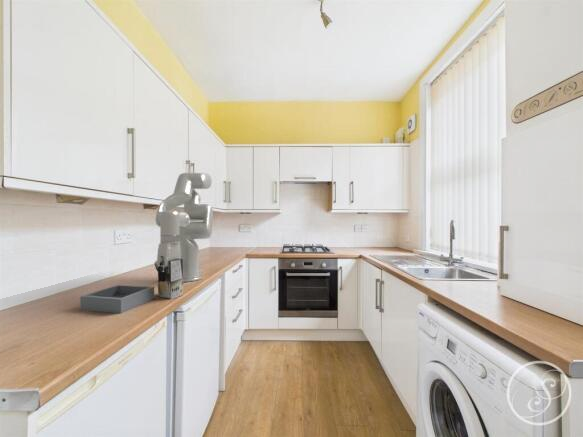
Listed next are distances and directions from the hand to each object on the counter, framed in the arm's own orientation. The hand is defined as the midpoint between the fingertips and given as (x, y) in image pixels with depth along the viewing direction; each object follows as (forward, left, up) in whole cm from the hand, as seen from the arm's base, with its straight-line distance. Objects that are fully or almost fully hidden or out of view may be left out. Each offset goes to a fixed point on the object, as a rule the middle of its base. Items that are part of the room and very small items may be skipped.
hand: (170, 278), depth 108 cm
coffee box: (-1, 0, -8) cm, 8 cm away
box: (+12, -13, -8) cm, 20 cm away
